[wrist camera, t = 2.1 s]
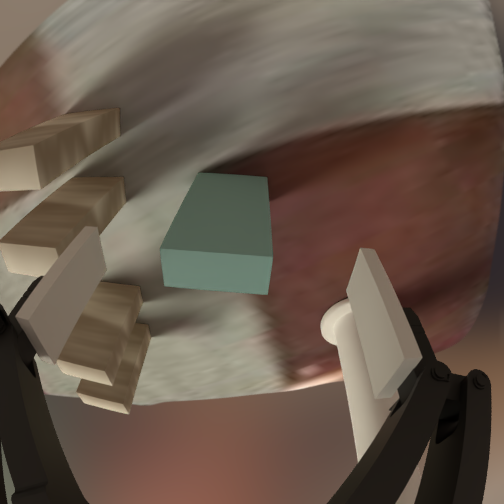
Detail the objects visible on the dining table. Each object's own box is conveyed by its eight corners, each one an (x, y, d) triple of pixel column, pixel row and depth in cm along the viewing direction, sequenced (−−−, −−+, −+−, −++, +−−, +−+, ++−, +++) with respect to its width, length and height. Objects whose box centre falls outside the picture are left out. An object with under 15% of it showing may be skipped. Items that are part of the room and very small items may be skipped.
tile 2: (126, 202, 23) (66, 281, 14) (76, 201, 22) (9, 271, 14) (123, 176, 21) (55, 248, 13) (72, 177, 21) (-3, 242, 13)
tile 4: (143, 302, 29) (112, 385, 21) (100, 297, 29) (63, 373, 20) (139, 286, 28) (104, 371, 19) (95, 280, 27) (53, 357, 19)
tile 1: (120, 136, 20) (40, 189, 11) (67, 140, 19) (-18, 192, 11) (119, 107, 18) (33, 145, 10) (65, 114, 18) (-25, 155, 10)
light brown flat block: (151, 337, 32) (129, 414, 24) (112, 331, 32) (84, 402, 23) (148, 324, 31) (123, 404, 22) (107, 318, 30) (76, 392, 22)
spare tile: (264, 204, 23) (267, 294, 14) (198, 199, 23) (164, 286, 14) (267, 176, 21) (273, 257, 13) (198, 172, 21) (159, 248, 13)
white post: (396, 300, 28) (469, 540, 7) (365, 344, 32) (406, 555, 11) (337, 289, 27) (391, 577, 7) (309, 337, 31) (331, 576, 10)
